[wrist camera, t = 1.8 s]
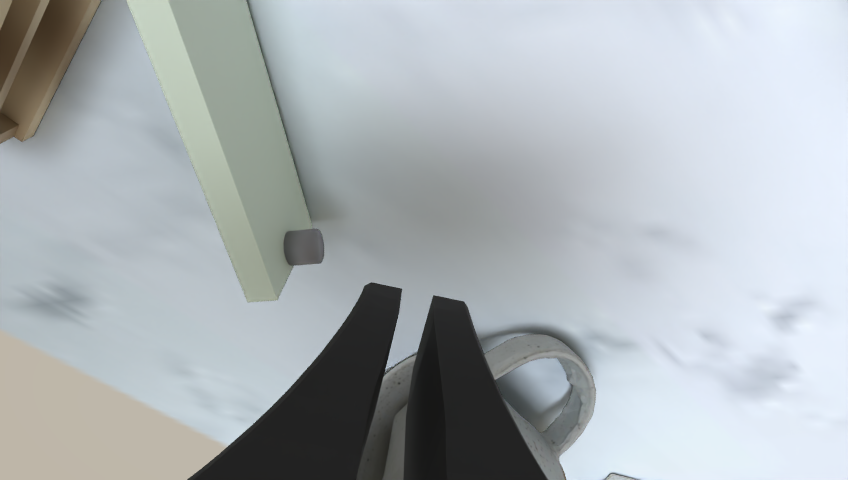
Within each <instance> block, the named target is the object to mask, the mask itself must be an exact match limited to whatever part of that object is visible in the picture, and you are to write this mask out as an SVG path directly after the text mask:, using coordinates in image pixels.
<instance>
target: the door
mask: <svg viewBox="0 0 848 480" xmlns="http://www.w3.org/2000/svg"><path fill="white" fill-rule="evenodd" d="M126 1H127V4H128V6H129V8H130V11H131V13H132V16H133V18H134V21H135V23H136V26H137V28H138V31H139V33H140V36H141V38H142V41H143V43H144V46H145V48H146V51H147V53H148V56H149V58H150V61H151V63H152V66H153V68H154V71H155V73H156V76H157V78H158V81H159V83H160V86H161V88H162V91H163V93H164V96H165V98H166V101H167V103H168V105H169V108H170V110H171V113H172V115H173V118H174V120H175V123H176V125H177V128H178V130H179V133H180V135H181V138H182V140H183V143H184V145H185V148H186V150H187V153H188V155H189V158H190V160H191V163H192V165H193V168H194V170H195V173H196V175H197V178H198V180H199V183H200V185H201V188H202V190H203V193H204V195H205V198H206V200H207V202H208V205H209V207H210V210H211V212H212V215H213V217H214V220H215V222H216V225H217V227H218V230H219V232H220V235H221V237H222V240H223V242H224V245H225V247H226V250H227V252H228V255H229V257H230V260H231V262H232V265H233V267H234V270H235V272H236V275H237V277H238V280H239V282H240V285H241V287H242V290H243V292H244V295H245V297H246V299H247V302H260V301H274V300H278V298H279V296H280V294H281V291H282V289H283V287H284V285H285V283H286V281H287V279H288V277H289V275H290V272H291V270H292V268H293V266H294V265H306V264H319V263H321V262H322V260H323V257H324V243H323V238H322V234H321V232H320V230H319V229H311V228H312V223H311V220H310V216H309V213H308V210H307V206H306V203H305V199H304V196H303V192H302V189H301V186H300V182H299V179H298V175H297V172H296V169H295V165H294V162H293V158H292V155H291V152H290V148H289V145H288V141H287V138H286V134H285V131H284V128H283V124H282V121H281V117H280V114H279V111H278V107H277V104H276V100H275V97H274V93H273V90H272V87H271V83H270V80H269V76H268V73H267V70H266V66H265V63H264V59H263V56H262V53H261V49H260V46H259V42H258V39H257V35H256V32H255V29H254V25H253V22H252V18H251V15H250V12H249V8H248V5H247V1H246V0H126Z"/></svg>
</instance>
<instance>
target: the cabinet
mask: <svg viewBox="0 0 848 480" xmlns="http://www.w3.org/2000/svg"><path fill="white" fill-rule="evenodd" d="M100 2H101V0H0V144H1V143H3V142H4V141H6V140H8V139H10V138H12V137H15V138H17V139H18V140H20V141H21V142H23V141H25V140H26V139H28V138H30V137H32V136H33V135H34V133H35V131H36V129H37V127H38V125H39V123H40V121H41V119H42V117H43V115H44V113H45V111H46V109H47V107H48V105H49V103H50V101H51V99H52V97H53V95H54V94H55V92H56V90H57V88H58V86H59V84H60V82H61V80H62V78H63V76H64V74H65V72H66V70H67V68H68V66H69V64H70V62H71V60H72V58H73V56H74V54H75V52H76V50H77V48H78V46H79V44H80V42H81V40H82V38H83V36H84V34H85V32H86V30H87V28H88V26H89V24H90V22H91V20H92V18H93V16H94V14H95V12H96V10H97V8H98V6H99V4H100Z"/></svg>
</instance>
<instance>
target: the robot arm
mask: <svg viewBox="0 0 848 480" xmlns="http://www.w3.org/2000/svg"><path fill="white" fill-rule="evenodd" d="M401 293H402V289H400V288H396V287H391V286H386V285H381V284H376V283H372V282H371V283H369V284H367V285H365V286H364V289H363V291H362V293H361V295H360V297H359V299H358V301H357V303H356V305H355V306H354V308H353V309H352V311H351V313H350V314H349V316H348V317H347V319H346V320H345V322H344V323H343V324H342V326H341V327H340V329H339V330H338V331H337V333H336V334H335V335H334V336H333V338H332V339H331V340H330V342H329V343H328V344H327V346H326V347H325V348H324V350H323V351H322V352H321V353H320V355H319V356H318V357H317V358H316V359H315V360H314V362H313V363H312V364H311V365H310V366H309V367H308V368H307V369H306V371H305V372H304V373H303V374H302V375H301V376H300V377H299V379H298V380H297V381H296V382H295V383H294V384H293V385H292V386H291V387H290V388H289V389H288V391H287V392H286V393H285V394H284V395H283V396H282V397H281V398H280V399H279V400H278V401H277V402H276V403H275V404H274V405H273V406H272V407H271V408H270V409H269V410H268V411H267V412H266V413H265V414H263V415H262V416H261V417H260V418H259V419H258V420H257V421H256V422H255V423H254V424H253V425H252V426H251V427H250V428H249V429H247V430H246V431H245V432H244V433H243V434H242V435H241V436H239V437H238V438H237V439H236V440H235V441H234V442H233V443H231V444H230V445H229V446H228V447H227V448H226V449H225V450H223V451H222V452H221V453H220V454H219V455H218V456H216V457H215V458H214V459H213V460H212V461H210V462H209V463H208V464H207V465H205V466H204V467H203V468H202V469H201V470H199V471H198V472H197V473H195V474H194V475H193V476H191V477H190V478H189V479H188V480H356V479H357V473H358V469H359V465H360V462H361V458H362V455H363V451H364V448H365V445H366V441H367V438H368V434H369V431H370V427H371V424H372V420H373V417H374V413H375V410H376V406H377V401H378V397H379V393H380V389H381V385H382V381H383V377H384V372H385V368H386V364H387V360H388V356H389V352H390V348H391V343H392V339H393V335H394V331H395V327H396V323H397V319H398V314H399V308H400V301H401ZM403 480H548V478H547V477H546V475H545V474H544V472H543V470H542V469H541V467H540V465H539V464H538V462H537V461H536V459H535V457H534V455H533V454H532V452H531V450H530V448H529V447H528V445H527V443H526V441H525V439H524V438H523V436H522V434H521V432H520V430H519V428H518V426H517V424H516V423H515V421H514V419H513V417H512V415H511V413H510V411H509V409H508V407H507V405H506V403H505V401H504V399H503V397H502V394H501V392H500V390H499V388H498V386H497V383H496V381H495V379H494V377H493V374H492V372H491V370H490V368H489V365H488V363H487V360H486V358H485V356H484V353H483V350H482V348H481V345H480V343H479V340H478V337H477V334H476V332H475V329H474V326H473V323H472V320H471V317H470V313H469V310H468V307H467V306H466V304H465V303H464V302H463V301H458V300H453V299H449V298H444V297H439V296H434V295H433V299H432V302H431V306H430V309H429V313H428V316H427V320H426V324H425V327H424V331H423V334H422V338H421V341H420V345H419V348H418V352H417V356H416V359H415V363H414V366H413V371H412V378H411V384H410V391H409V398H408V405H407V412H406V426H405V450H404V477H403Z"/></svg>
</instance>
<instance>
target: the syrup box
mask: <svg viewBox="0 0 848 480" xmlns="http://www.w3.org/2000/svg"><path fill="white" fill-rule="evenodd" d="M606 480H635V479H631V478H628V477H623V476H619V475H615V474H611V475H609V476H608V478H607V479H606Z"/></svg>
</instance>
